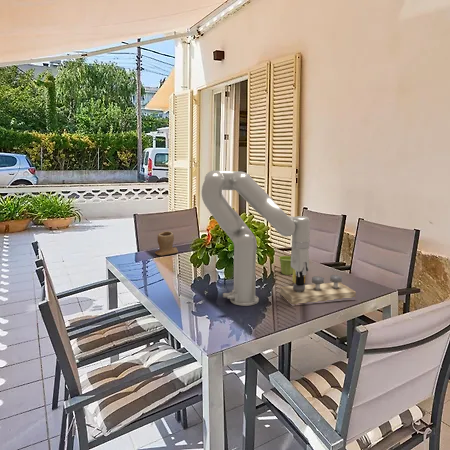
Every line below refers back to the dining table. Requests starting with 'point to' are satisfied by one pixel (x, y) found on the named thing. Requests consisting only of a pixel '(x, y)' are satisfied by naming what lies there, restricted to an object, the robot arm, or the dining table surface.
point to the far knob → (335, 280)
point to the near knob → (298, 288)
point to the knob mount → (317, 293)
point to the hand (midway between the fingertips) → (299, 284)
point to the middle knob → (317, 282)
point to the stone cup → (166, 243)
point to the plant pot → (286, 265)
